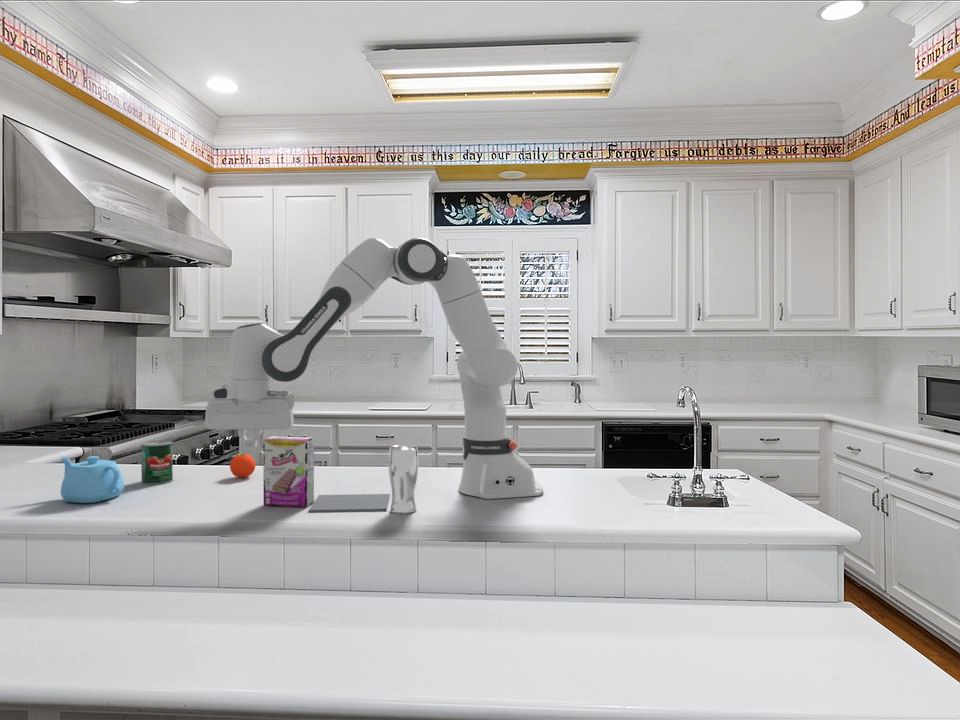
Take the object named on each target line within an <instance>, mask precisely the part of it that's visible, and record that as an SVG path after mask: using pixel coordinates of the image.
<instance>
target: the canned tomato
mask: <svg viewBox="0 0 960 720" xmlns="http://www.w3.org/2000/svg"><path fill="white" fill-rule="evenodd" d="M140 446H141V448H140V450H141V451H140V457H141V458H140V459H141V464H140V465H141V466H140V468H141V469H140V470H141V474H140V475H141V484H142V485H146V486H151V485H152V486H153V485H154V486H157V485H164V484H169V483H171V482H173V480H174V478H173V475H174V472H173V471H174V470H173V466H174V464H173V441H172V440H164V439H163V440H162V439H161V440H151V441H150V440H149V441H144V442H141V443H140Z"/></svg>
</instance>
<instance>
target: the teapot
mask: <svg viewBox="0 0 960 720" xmlns="http://www.w3.org/2000/svg"><path fill="white" fill-rule="evenodd" d="M60 459H61V460H62V461H63V463H64V474H63V475H64V476H63V479H62V483H61V486H60V496H61V497H62V499H63V500H64V501H65V502H68V503H73V504H74V503H76V504H95V503H98V502H102V501H106V500H111V499H113V498H116V497H118V496H120V495H121V494H122V493H123V491H124V489H125V481H124V476H123V474H122V472H121V468H120V467H119V465H118V464H117V462H116V461H115V460H107V459H100V457H99V456H97V455H94V456H93V455H92V456H87V457H86V461H82V462H77V463H72V460H71V459H70V458H68V457H66V456H60Z"/></svg>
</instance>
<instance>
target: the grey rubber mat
mask: <svg viewBox="0 0 960 720" xmlns="http://www.w3.org/2000/svg"><path fill="white" fill-rule="evenodd" d="M390 497H391V493H380V494H379V493H364V494H362V493H358V494H357V493H356V494H353V493H352V494H318V496H317V497H316V498H315V499H314V503H312V504H311V505H310V506H309V509H308V512H309V513H326V512H327V513H331V512H333V513H334V512H335V513H337V512H339V513H340V512H382V511H383V512H386V511H387V510H388V505H389V501H390Z"/></svg>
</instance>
